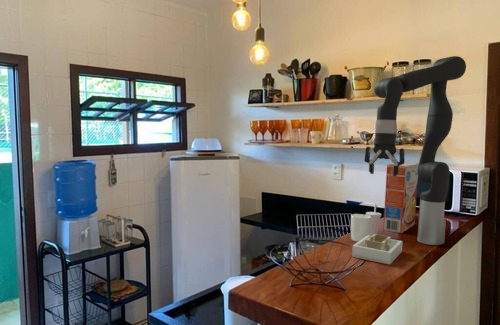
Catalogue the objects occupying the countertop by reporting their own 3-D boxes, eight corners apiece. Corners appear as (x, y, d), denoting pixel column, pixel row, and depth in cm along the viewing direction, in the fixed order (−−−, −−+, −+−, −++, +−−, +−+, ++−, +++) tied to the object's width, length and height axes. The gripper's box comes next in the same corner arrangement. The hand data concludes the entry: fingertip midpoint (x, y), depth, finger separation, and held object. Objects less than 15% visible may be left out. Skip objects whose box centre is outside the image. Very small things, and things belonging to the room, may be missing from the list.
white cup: (345, 238, 162) (347, 214, 161) (361, 236, 165) (362, 213, 165) (358, 243, 155) (359, 218, 154) (373, 241, 158) (375, 217, 157)
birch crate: (373, 246, 148) (374, 233, 148) (390, 249, 145) (390, 236, 144) (364, 253, 139) (365, 240, 139) (381, 257, 136) (382, 243, 135)
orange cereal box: (401, 233, 173) (405, 166, 171) (383, 230, 178) (387, 164, 176) (414, 224, 192) (418, 163, 189) (397, 221, 196) (401, 162, 194)
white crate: (367, 245, 153) (367, 235, 153) (401, 251, 146) (402, 241, 146) (352, 256, 138) (352, 245, 138) (389, 264, 131) (390, 252, 131)
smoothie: (381, 238, 164) (382, 205, 163) (365, 236, 165) (367, 204, 164) (379, 234, 170) (381, 202, 169) (363, 233, 172) (365, 201, 171)
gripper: (364, 131, 148) (361, 174, 150) (403, 132, 141) (400, 177, 142) (369, 131, 155) (367, 172, 156) (407, 132, 147) (405, 175, 148)
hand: (383, 174), depth 149 cm, fingers open, 8 cm apart
